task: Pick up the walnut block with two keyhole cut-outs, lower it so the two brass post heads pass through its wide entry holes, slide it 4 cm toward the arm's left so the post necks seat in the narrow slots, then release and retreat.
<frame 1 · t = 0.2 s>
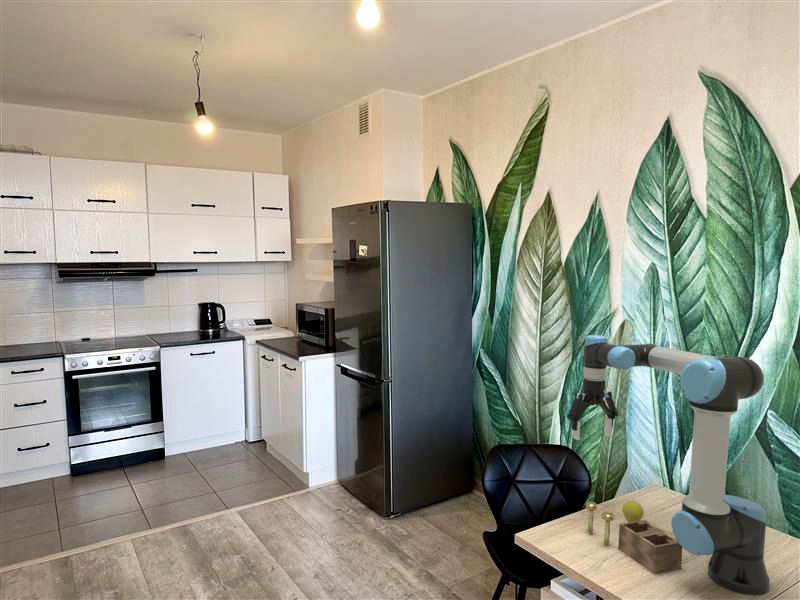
hand: (592, 437, 199), 28 cm above the table, fingers open, 13 cm apart
post b: (590, 533, 185), on the table
light bulb: (631, 530, 188), on the table
keyhole block: (648, 558, 170), on the table
post a: (606, 544, 177), on the table
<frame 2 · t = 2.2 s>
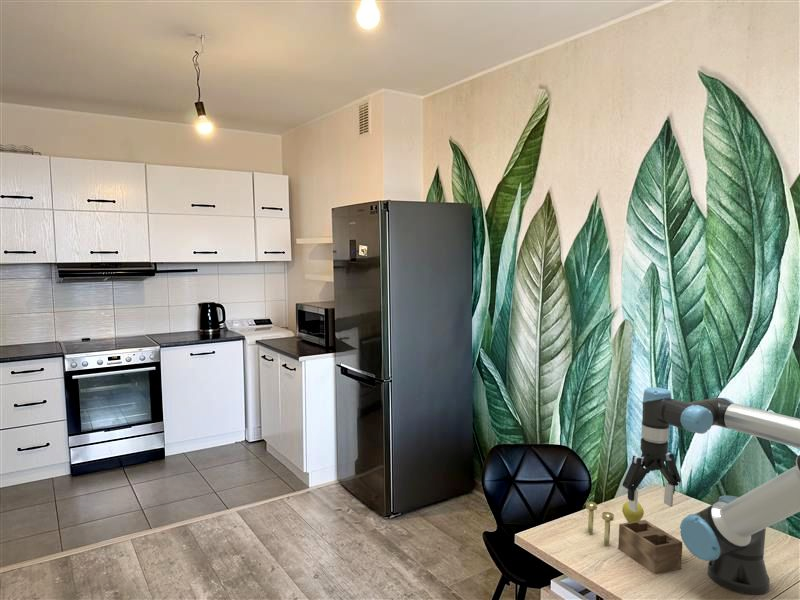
hand: (650, 507, 169), 16 cm above the table, fingers open, 13 cm apart
nothing on the table moved.
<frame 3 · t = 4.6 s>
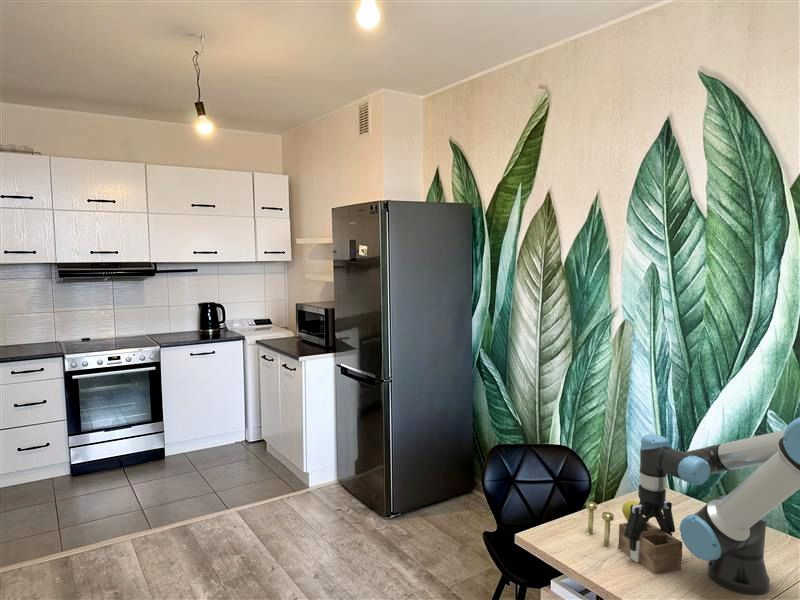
hand: (648, 557, 170), 0 cm above the table, fingers closed on keyhole block, 10 cm apart
keyhole block: (648, 558, 170), on the table, touching gripper
everything else where it was.
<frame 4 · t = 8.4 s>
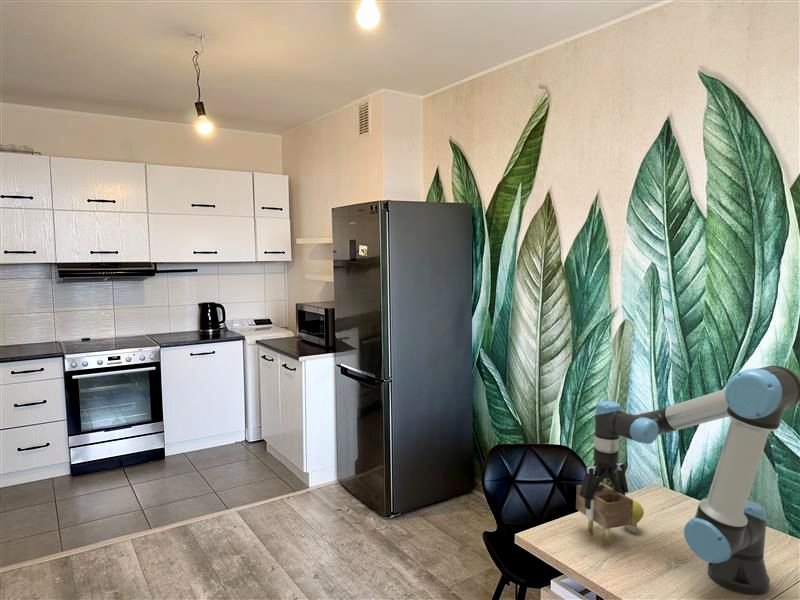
hand: (603, 515, 181), 8 cm above the table, fingers closed on keyhole block, 10 cm apart
keyhole block: (603, 516, 181), point 7 cm above the table, touching gripper
everything else where it was.
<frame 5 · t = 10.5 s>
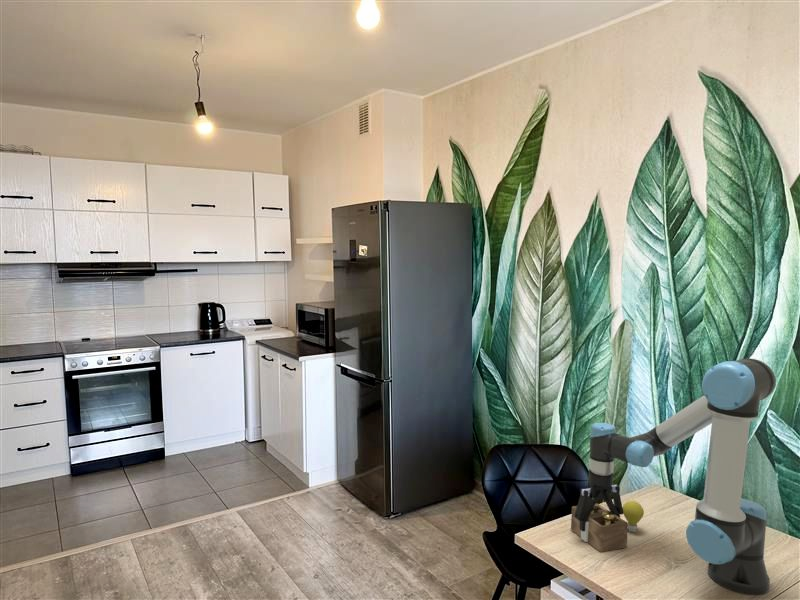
hand: (598, 537, 181), 0 cm above the table, fingers closed on keyhole block, 10 cm apart
keyhole block: (597, 538, 181), on the table, touching gripper
everything else where it was.
when the fingers open (0 cm above the table, at t = 12.3 s): keyhole block stays where it is, on the table.
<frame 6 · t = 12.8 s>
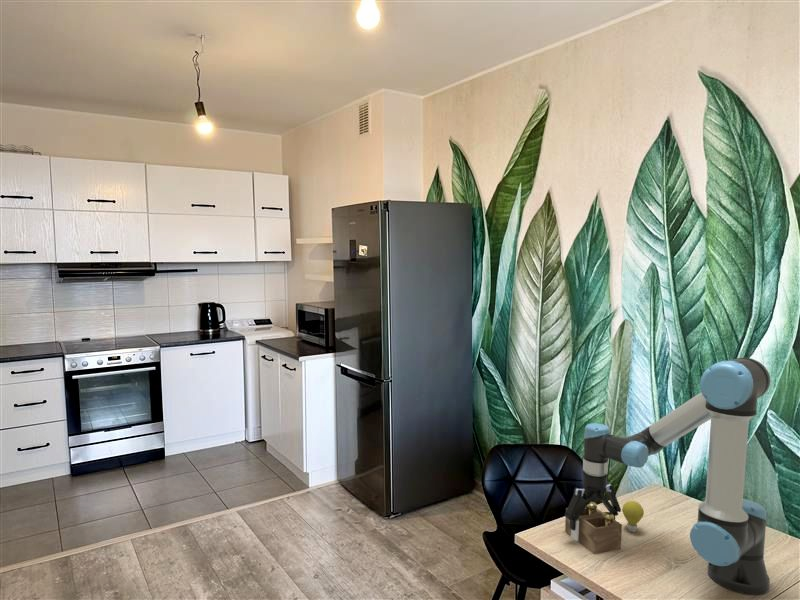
hand: (592, 536, 180), 1 cm above the table, fingers open, 13 cm apart
keyhole block: (592, 540, 180), on the table
everything else where it was.
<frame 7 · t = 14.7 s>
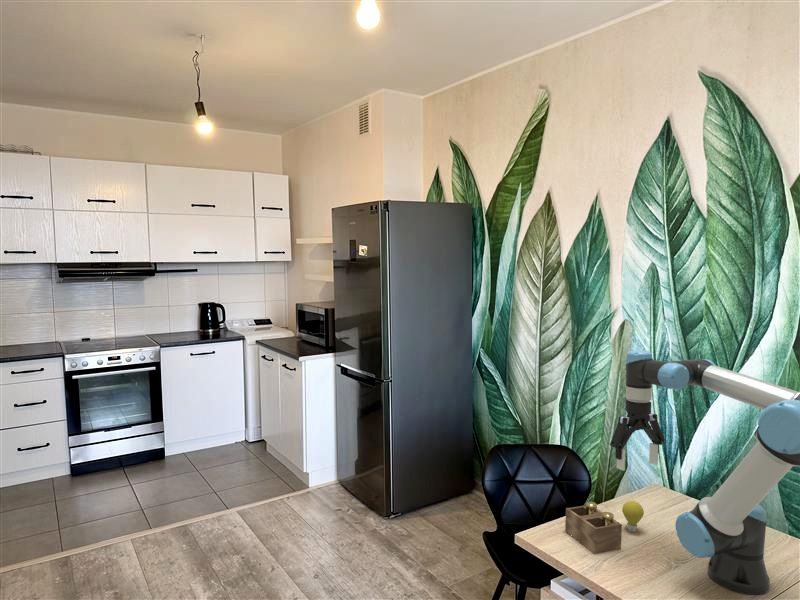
hand: (637, 466, 176), 26 cm above the table, fingers open, 13 cm apart
nothing on the table moved.
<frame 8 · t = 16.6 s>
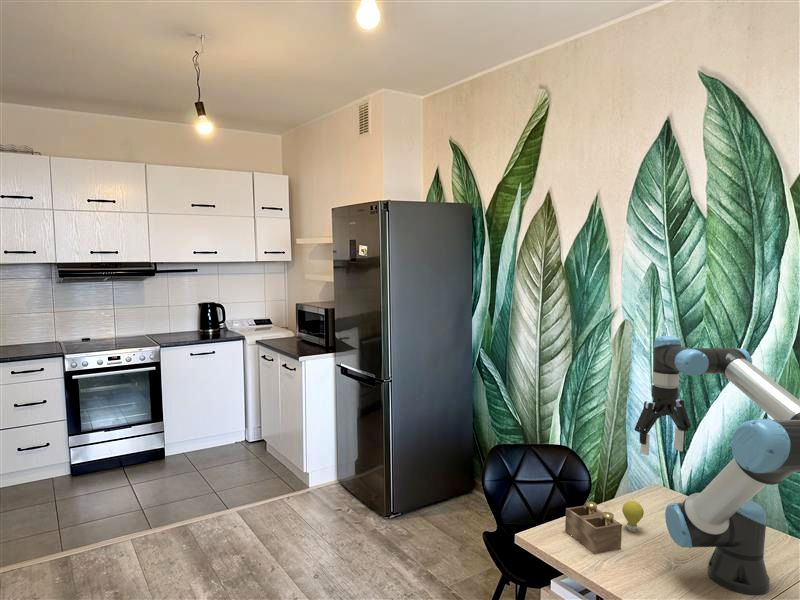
hand: (661, 452, 175), 31 cm above the table, fingers open, 13 cm apart
nothing on the table moved.
at the end: keyhole block 0.0 cm from the target spot, on the table; keyhole block tilted 0°; the gripper is holding nothing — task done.
